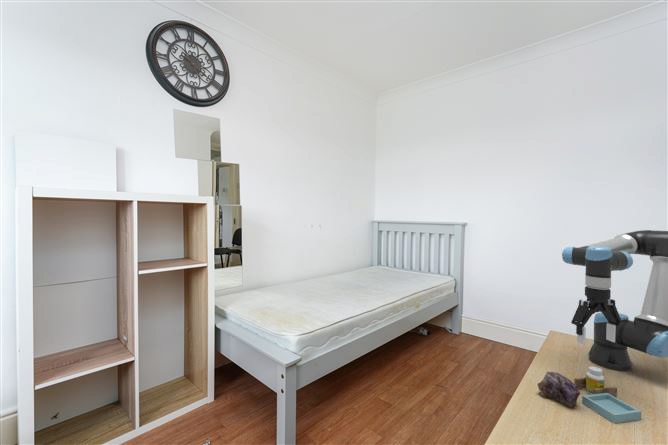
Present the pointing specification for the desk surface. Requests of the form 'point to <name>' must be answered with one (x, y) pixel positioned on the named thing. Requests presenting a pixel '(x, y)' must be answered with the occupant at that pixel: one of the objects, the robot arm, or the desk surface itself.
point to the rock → (559, 389)
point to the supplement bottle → (594, 379)
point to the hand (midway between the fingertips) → (595, 342)
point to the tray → (611, 407)
